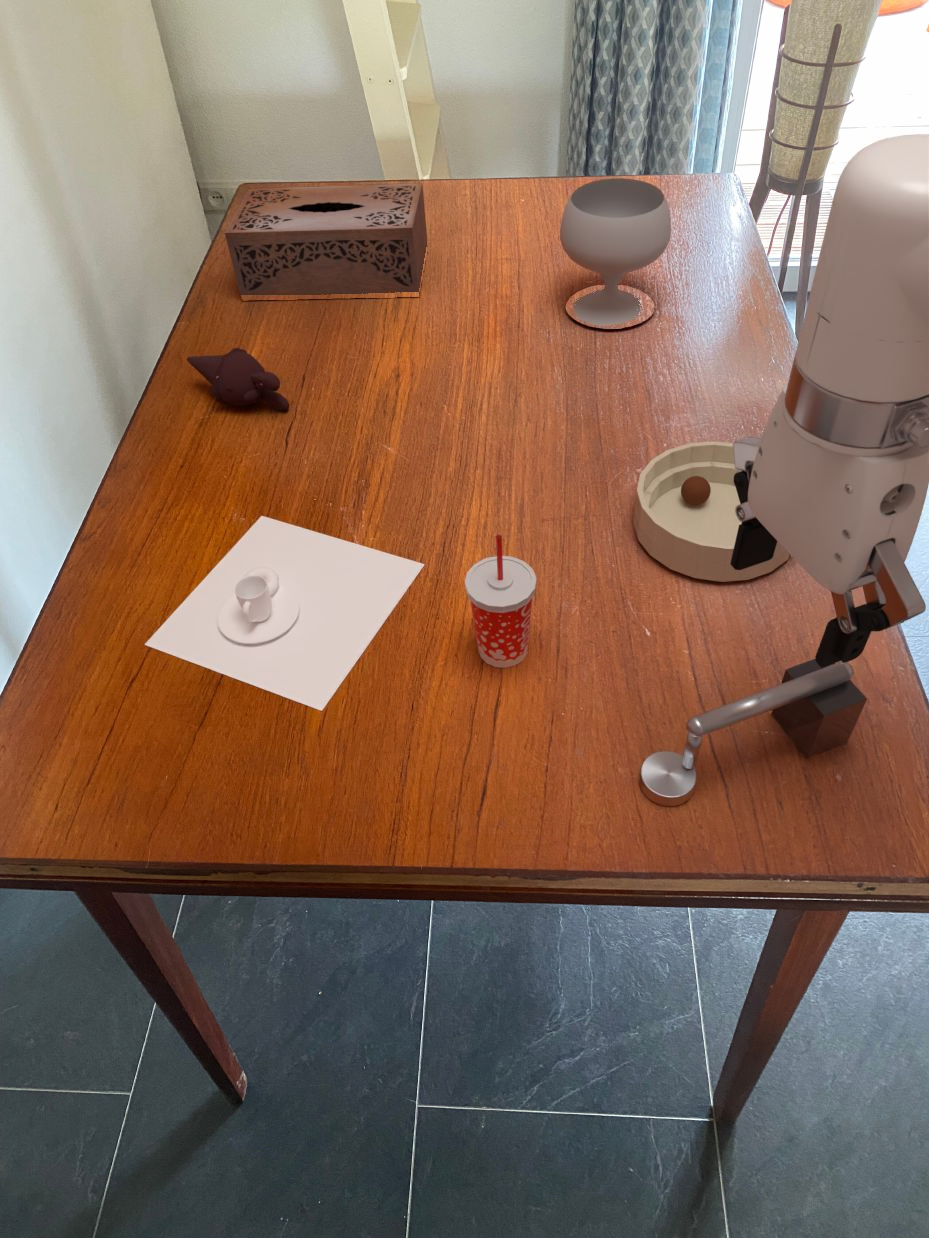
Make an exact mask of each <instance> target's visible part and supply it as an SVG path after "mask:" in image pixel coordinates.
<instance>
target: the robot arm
mask: <svg viewBox="0 0 929 1238" xmlns="http://www.w3.org/2000/svg"><path fill="white" fill-rule="evenodd" d="M732 443H733V453H734V462H735V469H737V472H738V473H735V475H734V484H735V487H736V490H737V494H738V497H739V501H740V505H737V506H736V509H735V512H736V516H737V518H738V520H739V521H741V522H742V524H740V525H739V528H738V532H737V536H736V541H735V545H734V550H733V554H732V558H731V563H730V564H731V566H732V567H733V568H734V569H735V570H742V569H745V568H748V567H751V566H754V565H757V564H760V563H763V562H766V561H768V560H771V559H772V558H773V555H774V552H775V548H776V545H777V541H778V542H779V543H780V544H781V545H782V546H783V547H784V548H785V549H786V551H787V552H788V553H789V554H790V557H792V558H793V559H794V560H795V561H796V562H797V564H799V565H800V567H802V568H803V569H804V570H805V572H807V574H809V575H810V576H811V577H812V578H813V580H815V582H817V584H819V585H820V586H821V587H823V588H824V589H826V590H828V591H829V592H830V594H831V598H832V602H833V606H834V612H835V615H836V617H834V618H832V619H830V620H829V621H828V622H827V624H826V626H825V628H824V632H823V634H822V637H821V640H820V643H819V646H818V648H817V651H816V653H815V656H814V659H816V660H815V661H816V663H817V664H818V665H819V666H820V667H821V668H823V667H826V666H828V665H831V664H834V663H839V662H843V663H848V662H851V661H853V660H855V659H858V657H860V656H861V655H862V654H863V652H864V651H865V647H866V645H867V643H868V640H869V638H870V636H871V633H872V632H882V631H884V630H887V629H890V628H893V627H895V626H898V625H901V624H903V623H905V622H906V621H909V620H911V619H914V618H915V617H917V616H919V615H921V614H924V613H925V611H926V610H927V606H926V602H925V599H924V598H923V596H922V594H921V592H920V590H919V588H918V587H917V585H916V583H915V581H914V579H913V577H912V575H911V573H910V571H909V569H908V567H907V566H906V565H907V564H906V563H905V562H906V560H907V557H908V556H909V552H910V550H911V547H912V544H913V542H914V539H915V535H916V532H917V530H918V526H919V523H920V520H921V517H922V513H923V510H924V505H925V502H926V499H927V493H928V490H929V489H928V488H929V133H928V134H927V133H926V134H925V133H924V134H923V133H921V134H920V133H918V134H903V135H897V136H891V137H885V138H883V139H879V140H877V141H875V142H872V143H870V144H868V145H867V146H865V147H863V148H861V149H860V150H859V151H857V152H856V153H855V154H854V155H853V156H852V157H851V158H850V160H849V161H848V162H847V164H846V165H845V166H844V168H843V169H842V171H841V173H840V176H839V178H838V181H837V184H836V188H835V191H834V194H833V198H832V202H831V206H830V210H829V214H828V217H827V222H826V227H825V231H824V235H823V239H822V243H821V247H820V251H819V255H818V259H817V264H816V267H815V271H814V276H813V280H812V284H811V288H810V292H809V297H808V301H807V304H806V309H805V312H804V317H803V321H802V325H801V329H800V332H799V337H798V341H797V346H796V349H795V354H794V358H793V361H792V366H791V370H790V374H789V378H788V382H787V383H786V384H785V385H784V386H783V387H782V389H781V391H780V394H779V396H778V397H777V399H776V401H775V404H774V406H773V408H772V410H771V412H770V414H769V417H768V419H767V422H766V425H765V427H764V429H763V432H762V435H761V438H760V437H755V436H748V437H745V438H742V439H739V440H736V441H734V442H732ZM861 587H862V590H863V594H864V599H865V603H863V604H860V605H858V606H855V602H854V596H853V592H852V591H853V590H856V589H858V588H861Z"/></svg>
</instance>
